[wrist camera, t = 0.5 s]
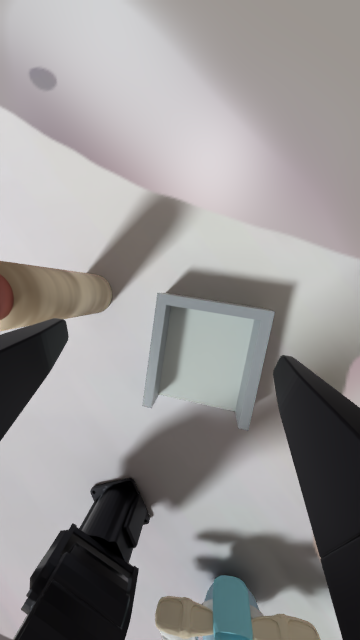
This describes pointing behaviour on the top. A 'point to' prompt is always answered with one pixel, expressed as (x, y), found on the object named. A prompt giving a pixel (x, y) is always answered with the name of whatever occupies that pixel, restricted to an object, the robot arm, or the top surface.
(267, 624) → the light blue winged piece
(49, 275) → the red-capped cream cylinder
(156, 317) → the tray
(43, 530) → the top surface
